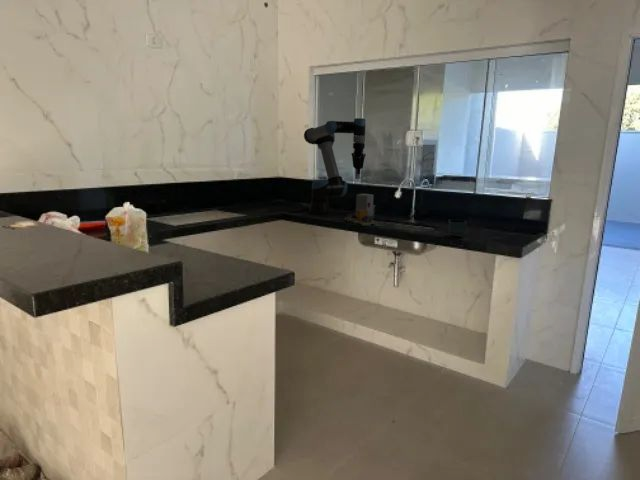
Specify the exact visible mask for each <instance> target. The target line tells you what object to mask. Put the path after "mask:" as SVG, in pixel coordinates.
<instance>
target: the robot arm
mask: <svg viewBox="0 0 640 480" xmlns="http://www.w3.org/2000/svg"><path fill="white" fill-rule="evenodd" d="M366 126H367V125H366V119H365V118H361V117H359V118H358V117H356V118H354V119H353V121H344V120H343V121H341V120H340V121H339V120H337V121H336V120H328V121H326V123H325V124H323V125H320V126H317V127H309V128H307V129H306V130H305V131H304V132H303V133H304V134H303V138H304V141H305V142H306V143H308V144H310V145H317V147H318V149H319V150H320V152H321V156H322V159H323V165H324V168H325V172H326V177H327V179H325V178H323V179H316V180H313V181H312V183H311V201H310V202H311V203H310V205H309V209H308V213H309V214H313V215H328V214H330V213H331V208H330V204H329V198H342V197H345V196H346V194H347V193H348V183H347V181H346V180H343V177H342V176H341V175H340V173H339V169H338V165H337V161H336V158H335V153H334V149H333V145H334V143H335V141H336V139H335V138H336V136H335V134H353V138H352V139H353V140H352V141H353V144H352V149H353V152H352V153H351V158H352V159H351V160H352V168H354V170H355V171H354V173H355V175H354V179H356V180H360V179H361V169H363V168H364V163H365V159H366V158H365V157H366V153H364V149H365V147H366V146H365V141H366Z"/></svg>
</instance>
